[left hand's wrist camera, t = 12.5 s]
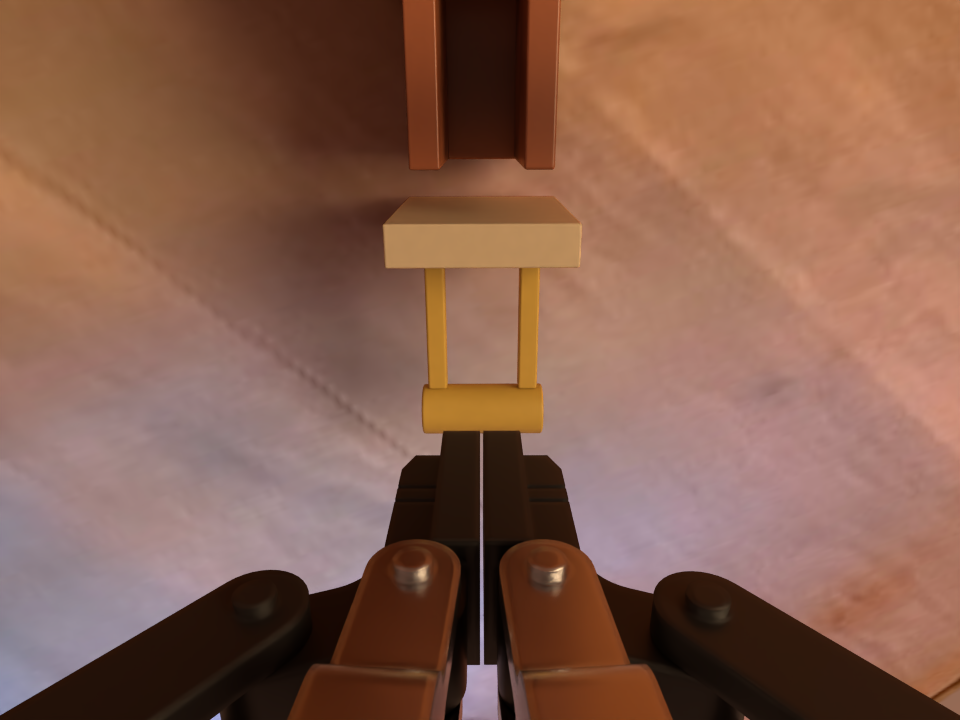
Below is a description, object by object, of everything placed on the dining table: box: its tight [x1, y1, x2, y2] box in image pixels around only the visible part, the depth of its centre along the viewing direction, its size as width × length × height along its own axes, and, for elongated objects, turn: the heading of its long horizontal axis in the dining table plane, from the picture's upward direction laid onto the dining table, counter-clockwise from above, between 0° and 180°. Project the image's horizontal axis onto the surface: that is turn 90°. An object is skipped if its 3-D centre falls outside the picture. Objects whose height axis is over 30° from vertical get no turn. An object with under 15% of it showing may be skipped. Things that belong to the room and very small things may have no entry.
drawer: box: [382, 0, 582, 433], centre depth 18 cm, size 24×5×7 cm, turn 0°
